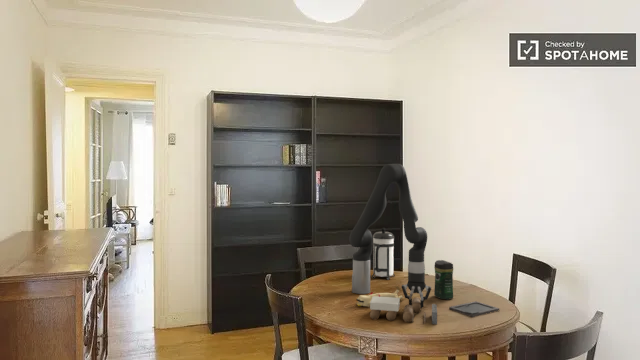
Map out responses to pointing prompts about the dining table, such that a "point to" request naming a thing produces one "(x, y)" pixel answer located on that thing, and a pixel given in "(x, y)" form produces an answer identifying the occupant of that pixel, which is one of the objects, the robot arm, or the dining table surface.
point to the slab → (385, 303)
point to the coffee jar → (443, 279)
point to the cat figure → (366, 300)
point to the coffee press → (383, 254)
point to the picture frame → (473, 308)
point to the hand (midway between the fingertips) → (416, 307)
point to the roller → (416, 305)
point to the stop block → (434, 313)
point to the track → (391, 315)
